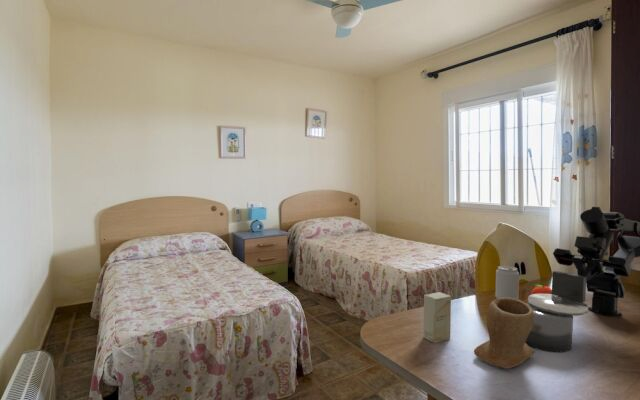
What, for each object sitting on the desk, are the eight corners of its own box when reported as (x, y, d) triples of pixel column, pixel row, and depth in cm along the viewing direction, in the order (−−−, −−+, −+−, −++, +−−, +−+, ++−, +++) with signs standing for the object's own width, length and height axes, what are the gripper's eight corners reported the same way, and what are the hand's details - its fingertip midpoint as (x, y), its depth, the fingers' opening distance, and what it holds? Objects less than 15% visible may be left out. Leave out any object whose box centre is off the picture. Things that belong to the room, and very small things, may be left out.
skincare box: (434, 343, 94) (435, 299, 93) (422, 337, 98) (423, 294, 97) (451, 338, 97) (451, 295, 96) (438, 332, 101) (439, 291, 100)
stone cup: (515, 380, 77) (517, 313, 76) (466, 357, 87) (468, 298, 86) (549, 361, 85) (551, 300, 84) (501, 342, 95) (503, 287, 94)
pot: (508, 318, 111) (508, 294, 110) (581, 344, 93) (582, 314, 93) (482, 328, 104) (483, 301, 103) (556, 357, 87) (557, 325, 86)
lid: (543, 294, 109) (544, 268, 108) (597, 308, 97) (599, 279, 96) (517, 303, 101) (518, 275, 101) (572, 319, 89) (574, 288, 89)
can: (522, 303, 124) (523, 270, 123) (501, 303, 124) (502, 270, 124) (511, 296, 132) (512, 264, 131) (491, 296, 132) (492, 264, 131)
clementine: (523, 303, 124) (524, 283, 124) (534, 299, 128) (535, 280, 127) (547, 310, 117) (548, 289, 117) (558, 306, 121) (559, 286, 121)
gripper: (556, 223, 115) (537, 260, 110) (628, 230, 99) (610, 274, 94) (567, 245, 120) (549, 281, 115) (638, 254, 104) (621, 298, 99)
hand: (579, 283), depth 106 cm, fingers closed
